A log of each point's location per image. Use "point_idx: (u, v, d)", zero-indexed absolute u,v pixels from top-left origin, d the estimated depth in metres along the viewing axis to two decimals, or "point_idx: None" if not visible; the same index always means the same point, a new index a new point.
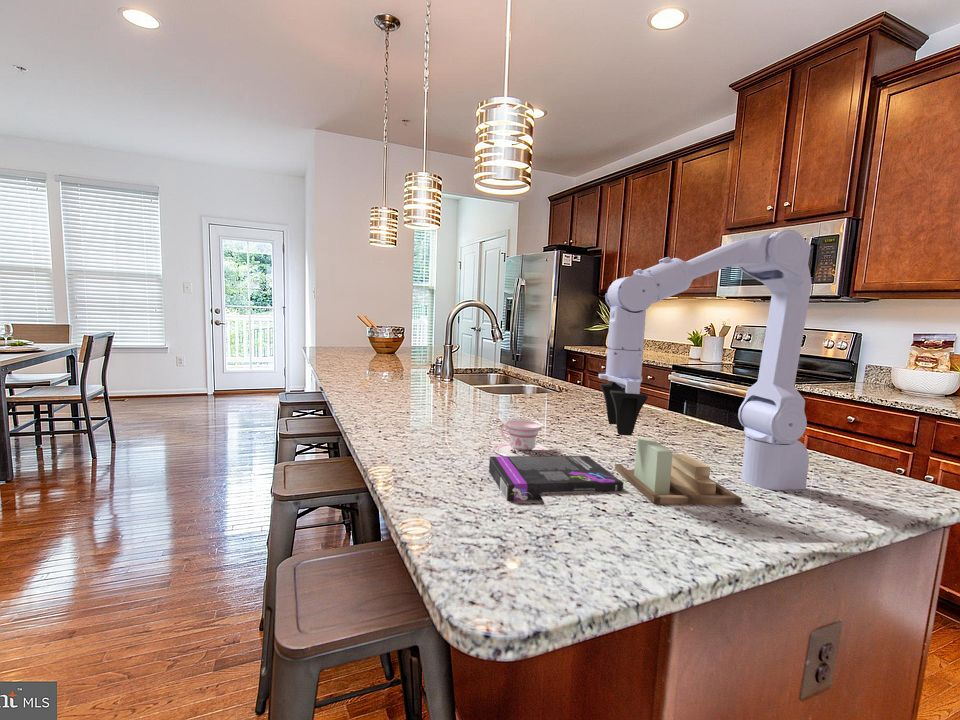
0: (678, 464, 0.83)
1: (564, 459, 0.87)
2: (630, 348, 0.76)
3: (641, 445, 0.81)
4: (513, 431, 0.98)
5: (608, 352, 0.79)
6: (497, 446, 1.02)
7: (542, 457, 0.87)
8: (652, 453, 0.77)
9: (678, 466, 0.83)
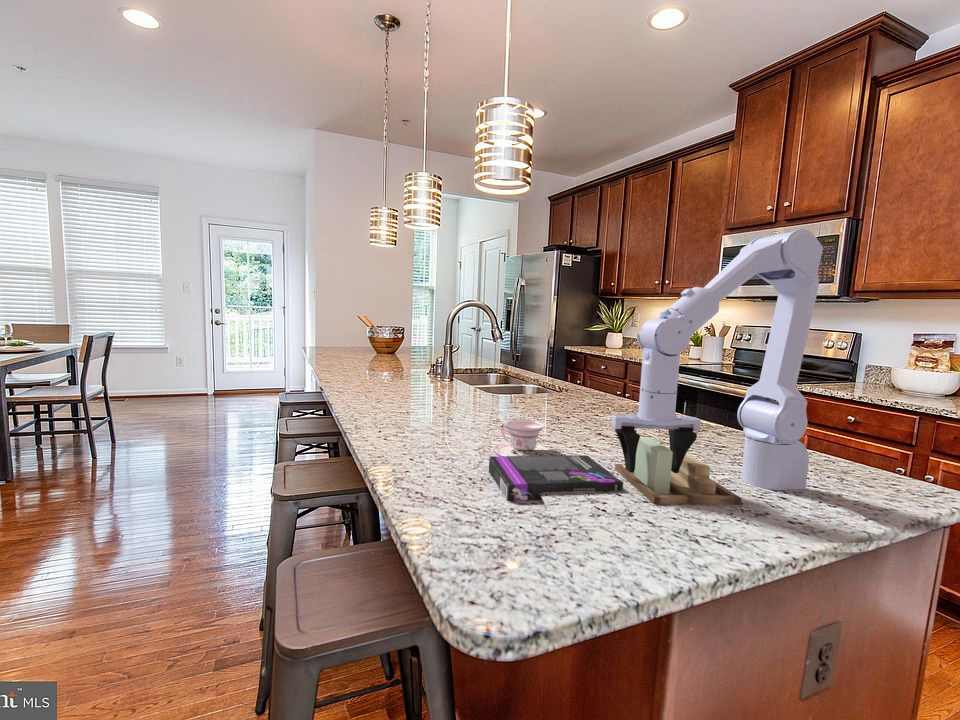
0: None
1: (563, 459, 0.87)
2: (666, 391, 0.76)
3: (641, 445, 0.81)
4: (514, 432, 0.97)
5: None
6: (498, 447, 1.02)
7: (542, 457, 0.87)
8: (652, 453, 0.77)
9: None
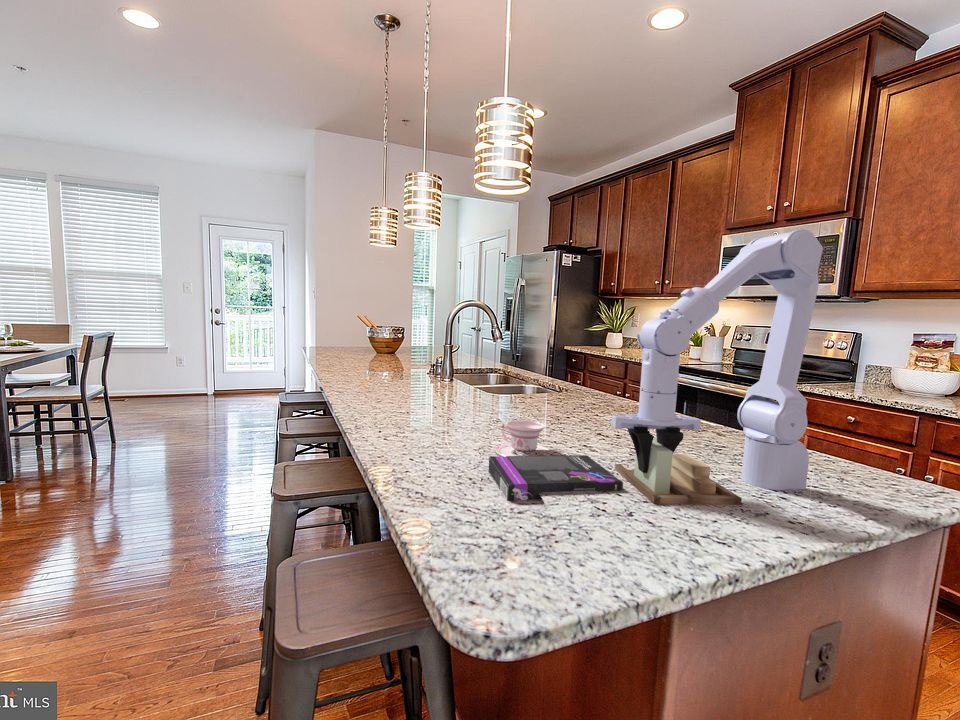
0: (678, 464, 0.83)
1: (563, 459, 0.87)
2: (666, 392, 0.76)
3: None
4: (515, 432, 0.97)
5: None
6: (498, 447, 1.02)
7: (541, 457, 0.87)
8: (652, 453, 0.77)
9: (678, 466, 0.83)
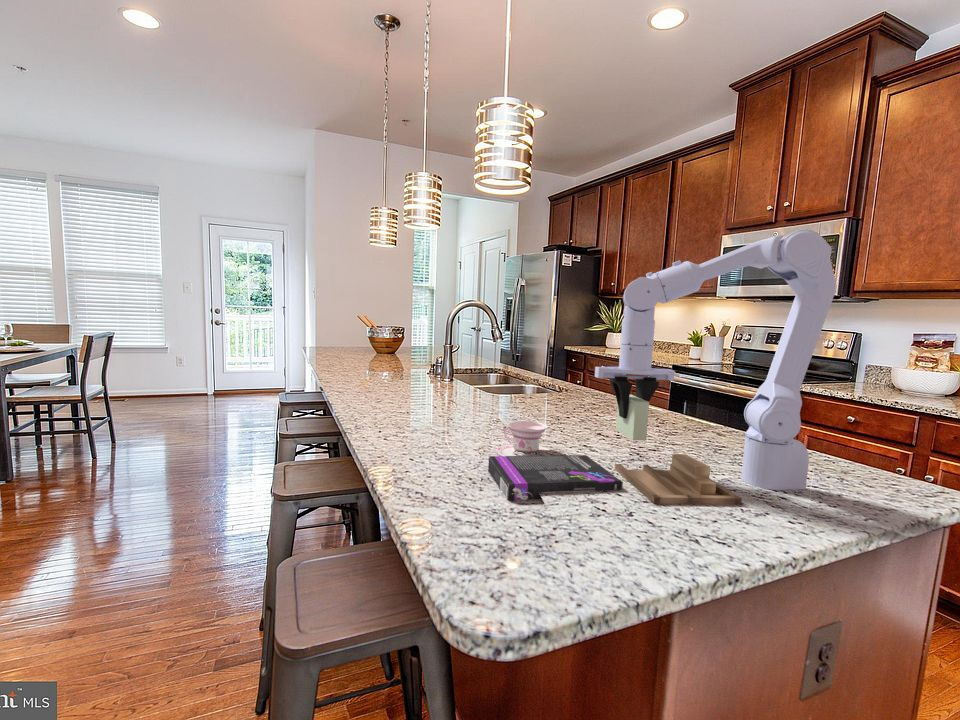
0: (678, 464, 0.83)
1: (563, 458, 0.87)
2: (636, 343, 0.85)
3: None
4: (516, 433, 0.96)
5: None
6: (500, 448, 1.01)
7: (541, 457, 0.87)
8: (631, 404, 0.86)
9: (678, 466, 0.83)
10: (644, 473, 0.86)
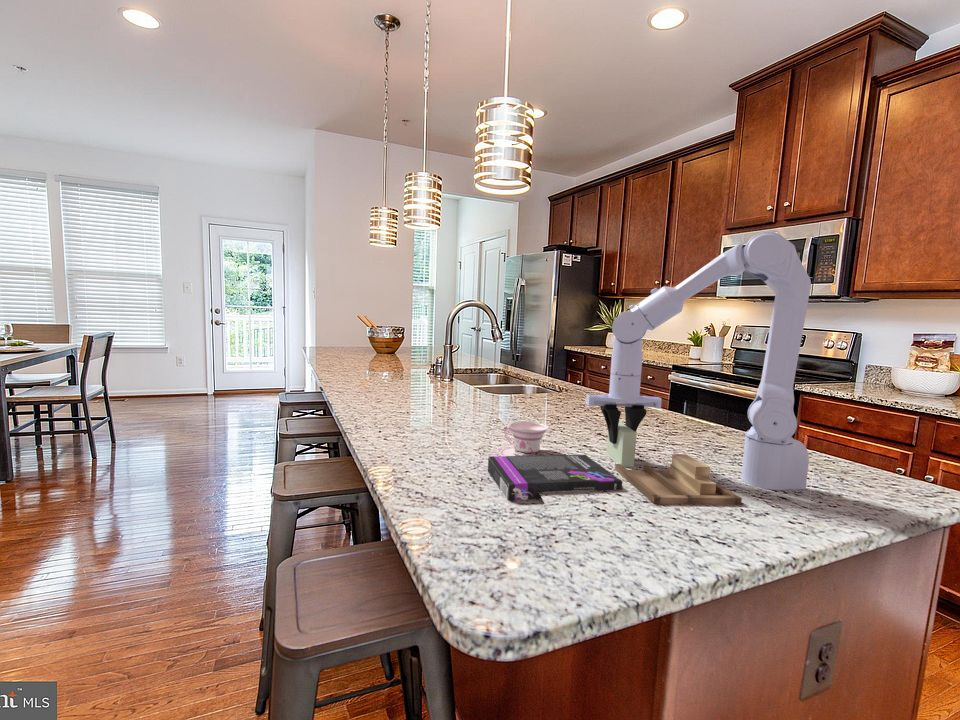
0: (678, 464, 0.83)
1: (562, 458, 0.87)
2: (622, 373, 0.90)
3: None
4: (517, 434, 0.96)
5: None
6: (501, 449, 1.00)
7: (540, 456, 0.88)
8: (619, 434, 0.91)
9: (678, 466, 0.83)
10: (644, 473, 0.86)
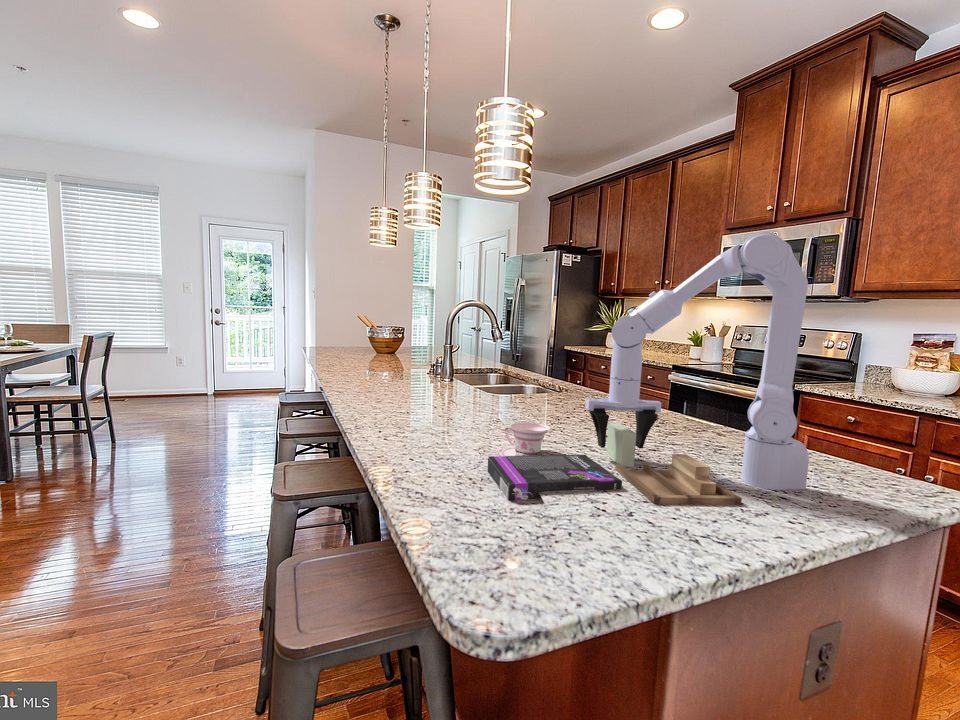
0: (678, 464, 0.83)
1: (562, 458, 0.87)
2: (622, 378, 0.90)
3: (612, 429, 0.95)
4: (519, 434, 0.95)
5: None
6: (502, 449, 1.00)
7: (540, 456, 0.88)
8: (619, 435, 0.91)
9: (678, 466, 0.83)
10: (644, 473, 0.86)
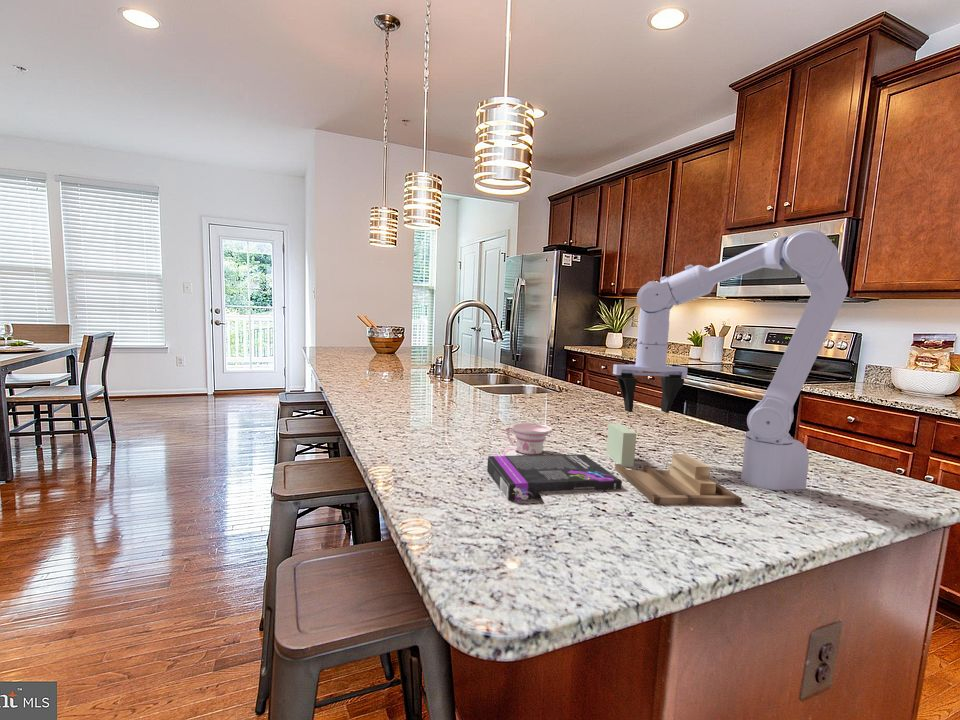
0: (678, 464, 0.83)
1: (561, 458, 0.87)
2: (646, 342, 0.92)
3: (612, 429, 0.95)
4: (520, 435, 0.94)
5: None
6: (503, 450, 0.99)
7: (540, 456, 0.88)
8: (619, 435, 0.91)
9: (678, 466, 0.83)
10: (644, 473, 0.86)
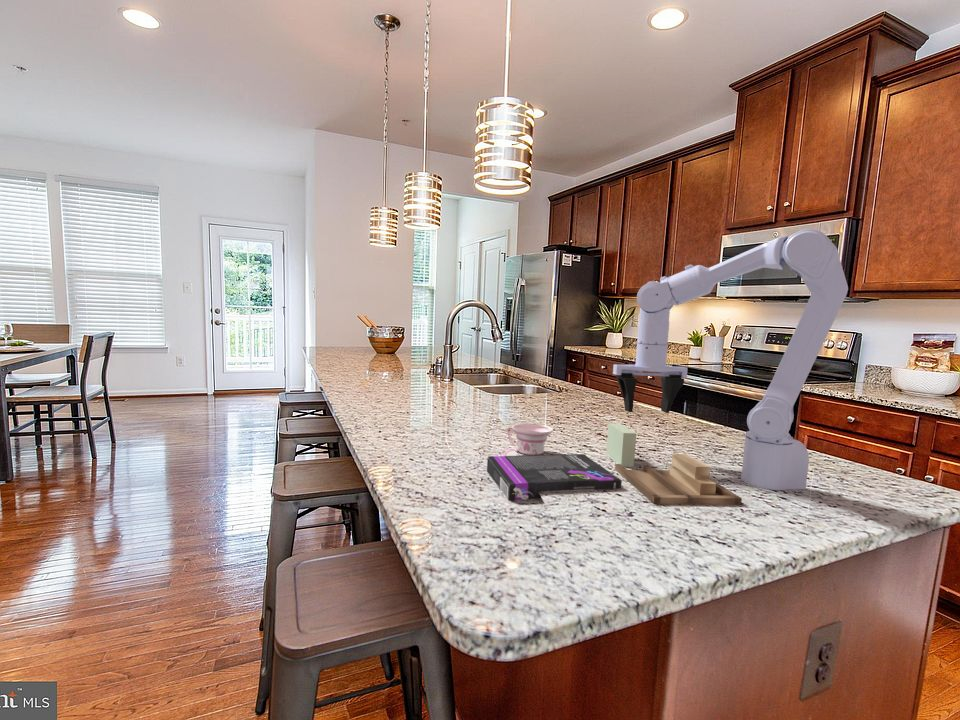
0: (678, 464, 0.83)
1: (561, 458, 0.87)
2: (646, 342, 0.92)
3: (612, 429, 0.95)
4: (521, 436, 0.94)
5: None
6: (504, 451, 0.99)
7: (539, 456, 0.88)
8: (619, 435, 0.91)
9: (678, 466, 0.83)
10: (644, 473, 0.86)
